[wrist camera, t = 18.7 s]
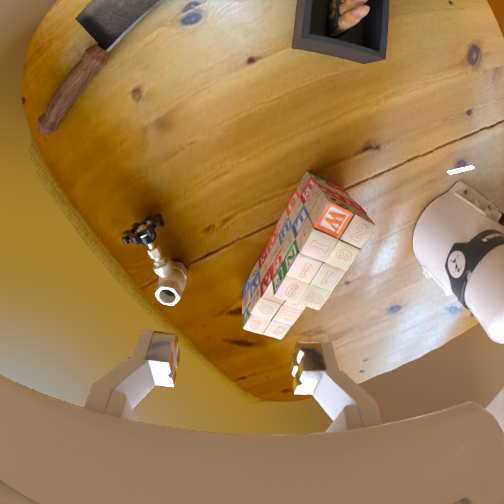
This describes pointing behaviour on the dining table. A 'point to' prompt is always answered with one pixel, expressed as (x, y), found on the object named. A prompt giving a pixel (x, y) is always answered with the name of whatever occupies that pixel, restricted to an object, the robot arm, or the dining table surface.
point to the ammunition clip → (344, 16)
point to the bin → (350, 44)
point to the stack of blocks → (304, 256)
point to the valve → (159, 260)
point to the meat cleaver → (94, 50)
